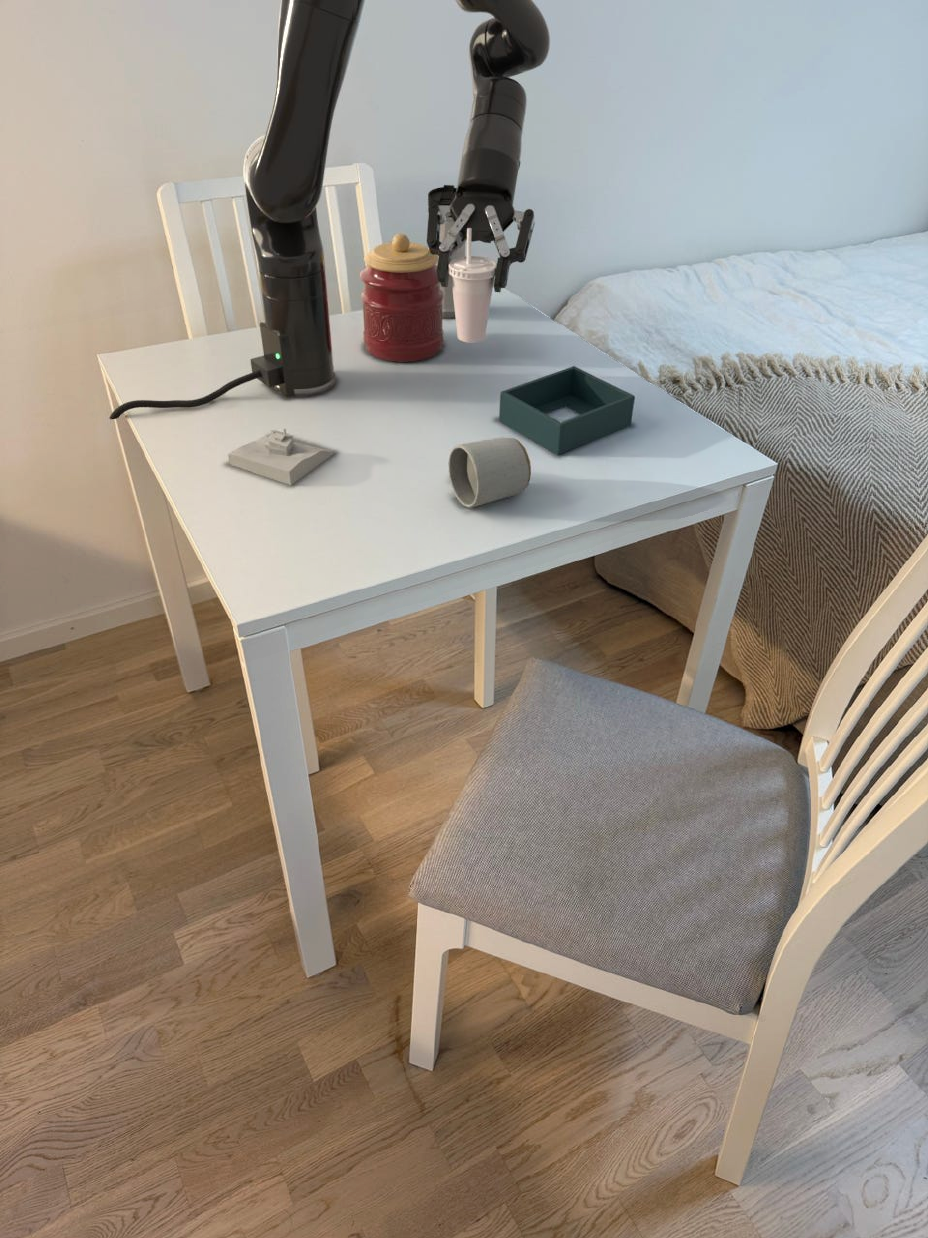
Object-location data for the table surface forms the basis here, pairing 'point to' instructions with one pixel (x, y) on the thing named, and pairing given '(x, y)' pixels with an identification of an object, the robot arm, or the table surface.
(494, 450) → the ceramic mug
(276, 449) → the miniature house
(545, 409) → the bin
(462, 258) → the smoothie
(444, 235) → the travel mug
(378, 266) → the kitchen canister
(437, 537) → the table surface
